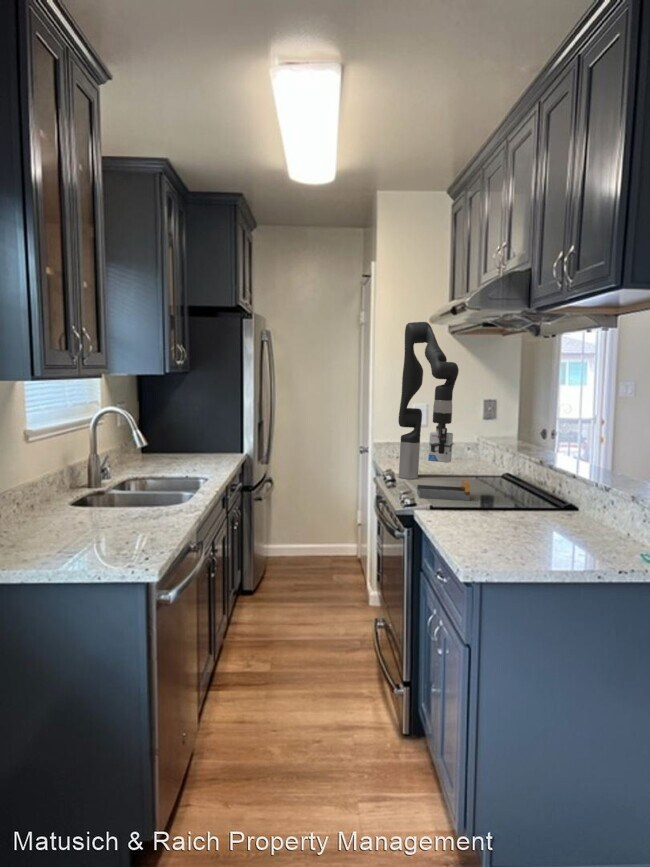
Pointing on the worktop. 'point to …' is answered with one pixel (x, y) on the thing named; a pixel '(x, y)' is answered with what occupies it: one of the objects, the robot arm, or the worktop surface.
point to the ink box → (435, 448)
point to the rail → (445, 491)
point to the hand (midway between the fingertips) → (440, 452)
